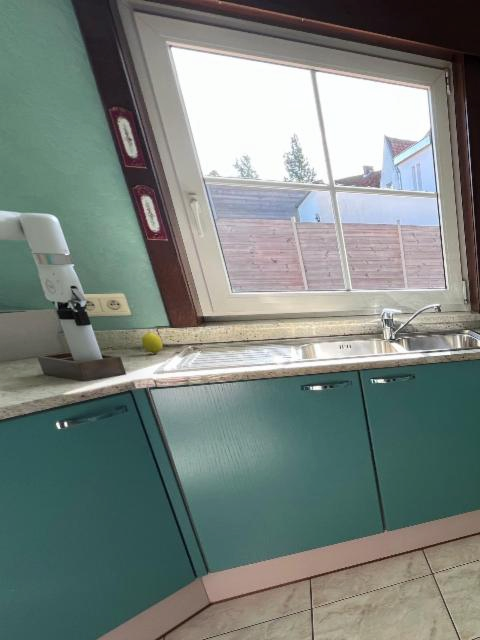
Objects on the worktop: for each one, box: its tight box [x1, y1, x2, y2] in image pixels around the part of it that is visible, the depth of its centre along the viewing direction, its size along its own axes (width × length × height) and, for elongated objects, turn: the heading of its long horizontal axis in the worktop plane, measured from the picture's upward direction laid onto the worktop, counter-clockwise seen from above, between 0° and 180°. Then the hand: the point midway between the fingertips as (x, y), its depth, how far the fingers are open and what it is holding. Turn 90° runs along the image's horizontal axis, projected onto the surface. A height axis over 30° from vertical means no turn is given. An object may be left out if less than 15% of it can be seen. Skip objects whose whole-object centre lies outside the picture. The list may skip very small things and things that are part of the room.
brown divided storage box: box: [36, 351, 127, 382], centre depth 153 cm, size 11×20×6 cm, turn 71°
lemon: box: [141, 332, 163, 355], centre depth 183 cm, size 6×6×8 cm
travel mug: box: [56, 306, 103, 362], centre depth 149 cm, size 6×7×20 cm
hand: (76, 324), depth 147 cm, fingers closed on travel mug, 6 cm apart
